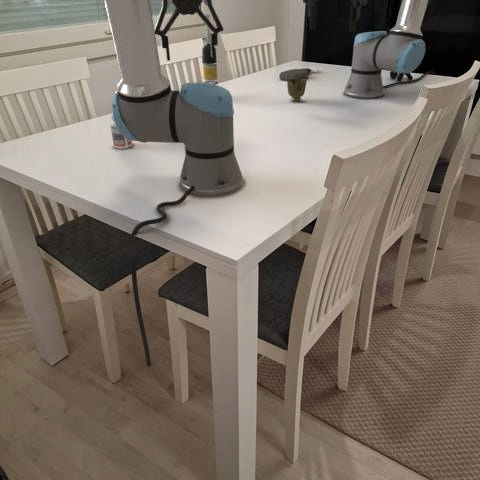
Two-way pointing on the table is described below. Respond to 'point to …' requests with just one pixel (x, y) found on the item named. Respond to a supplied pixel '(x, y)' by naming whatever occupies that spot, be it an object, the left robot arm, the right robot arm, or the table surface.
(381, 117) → the table surface
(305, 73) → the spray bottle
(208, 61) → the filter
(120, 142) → the pill bottle
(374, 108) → the table surface
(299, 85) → the cup
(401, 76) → the squiggle
